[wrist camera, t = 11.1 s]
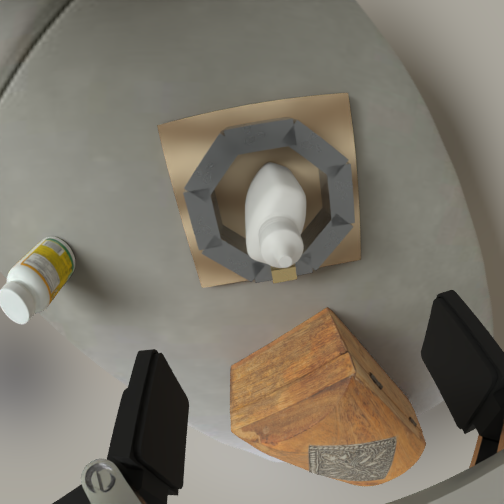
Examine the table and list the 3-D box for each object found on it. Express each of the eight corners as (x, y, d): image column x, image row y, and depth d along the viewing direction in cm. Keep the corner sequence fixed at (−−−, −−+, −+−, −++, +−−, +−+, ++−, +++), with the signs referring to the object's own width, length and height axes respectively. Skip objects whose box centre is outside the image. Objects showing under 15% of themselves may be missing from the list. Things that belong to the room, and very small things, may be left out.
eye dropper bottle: (308, 191, 26) (352, 256, 16) (259, 231, 28) (270, 316, 17) (275, 153, 25) (302, 195, 14) (225, 196, 26) (214, 266, 16)
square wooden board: (160, 124, 24) (157, 125, 23) (343, 93, 23) (348, 92, 22) (203, 281, 32) (202, 287, 31) (356, 253, 31) (360, 259, 30)
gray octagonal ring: (178, 137, 24) (167, 144, 20) (333, 111, 23) (349, 113, 20) (213, 272, 30) (209, 296, 26) (346, 248, 29) (359, 270, 26)
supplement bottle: (65, 230, 28) (17, 278, 20) (83, 273, 31) (45, 329, 22) (32, 240, 29) (-16, 285, 20) (50, 280, 31) (11, 331, 23)
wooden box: (221, 366, 38) (218, 462, 26) (332, 299, 34) (371, 399, 21) (330, 438, 49) (344, 500, 37) (409, 398, 45) (435, 460, 33)
